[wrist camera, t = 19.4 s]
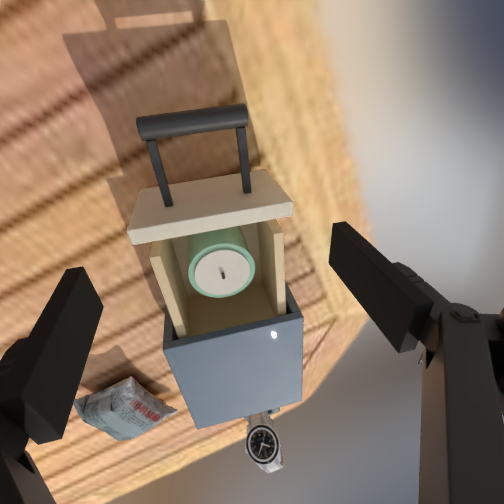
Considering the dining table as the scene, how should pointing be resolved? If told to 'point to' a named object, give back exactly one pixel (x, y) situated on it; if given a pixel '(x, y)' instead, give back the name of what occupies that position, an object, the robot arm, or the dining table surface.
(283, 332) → the cabinet
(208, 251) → the votive
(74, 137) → the dining table surface
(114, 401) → the packaged food
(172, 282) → the drawer
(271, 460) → the watch
